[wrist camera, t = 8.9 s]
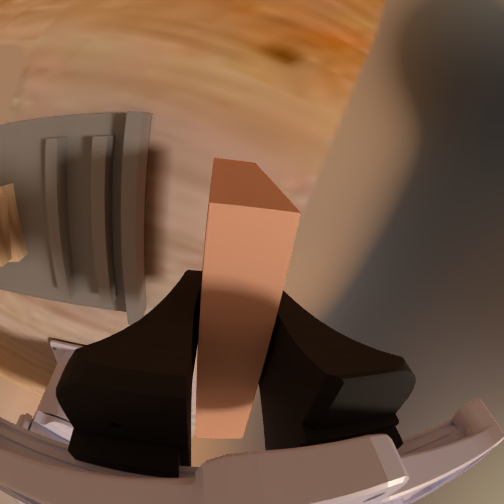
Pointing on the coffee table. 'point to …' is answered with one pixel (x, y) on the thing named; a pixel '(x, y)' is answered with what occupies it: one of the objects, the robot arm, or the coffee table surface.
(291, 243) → the panel
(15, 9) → the coffee table surface
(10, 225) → the block
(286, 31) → the coffee table surface
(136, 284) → the rack
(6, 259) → the offcut top
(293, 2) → the coffee table surface
